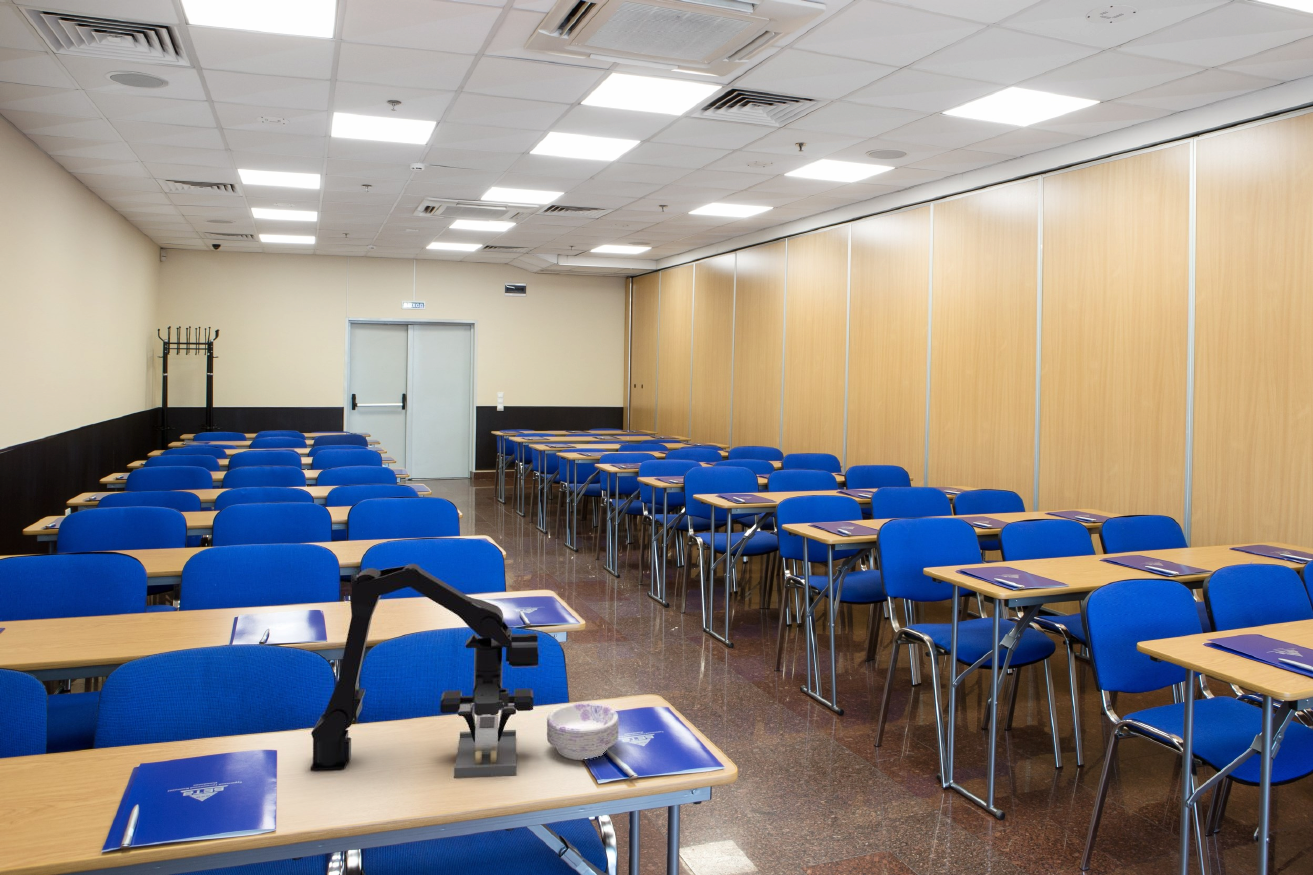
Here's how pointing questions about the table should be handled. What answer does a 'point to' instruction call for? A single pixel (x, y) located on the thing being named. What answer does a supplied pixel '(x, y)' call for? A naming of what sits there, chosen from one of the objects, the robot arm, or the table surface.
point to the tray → (486, 757)
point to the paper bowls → (582, 730)
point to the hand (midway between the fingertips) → (486, 740)
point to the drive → (486, 733)
